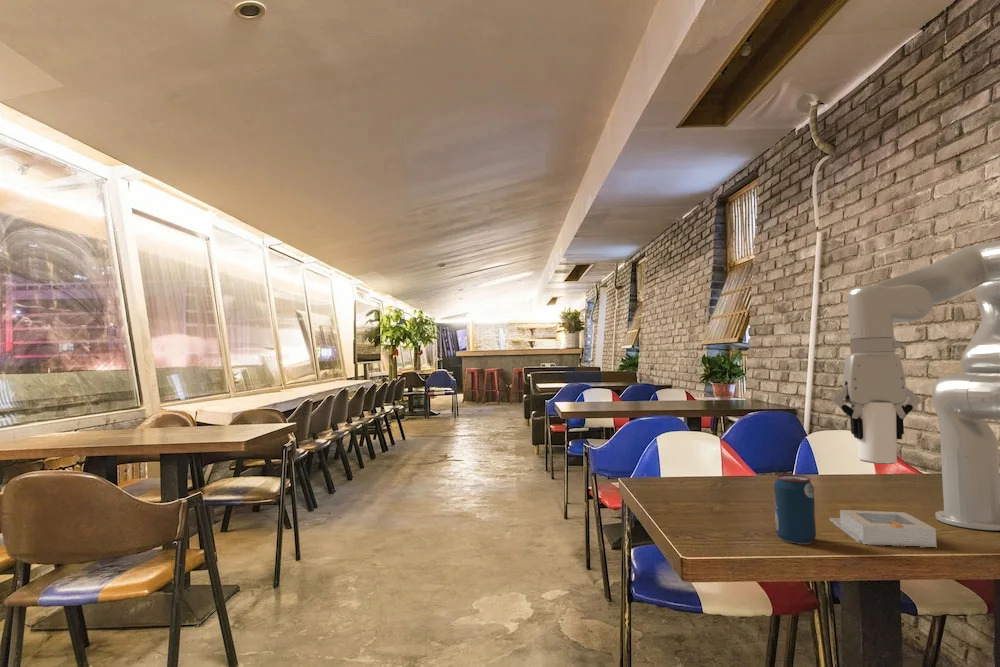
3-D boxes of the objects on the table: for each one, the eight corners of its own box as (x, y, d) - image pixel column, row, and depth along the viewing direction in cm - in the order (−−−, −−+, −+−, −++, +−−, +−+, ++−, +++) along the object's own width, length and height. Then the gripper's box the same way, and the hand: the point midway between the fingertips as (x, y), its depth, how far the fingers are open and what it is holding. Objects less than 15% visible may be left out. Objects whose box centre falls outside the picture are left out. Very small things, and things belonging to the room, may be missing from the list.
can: (902, 465, 110) (902, 402, 111) (864, 463, 112) (864, 401, 112) (888, 459, 116) (887, 400, 117) (852, 457, 118) (852, 399, 118)
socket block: (897, 523, 122) (896, 504, 122) (940, 548, 105) (939, 527, 105) (829, 520, 124) (828, 502, 125) (861, 544, 107) (860, 523, 108)
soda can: (824, 543, 109) (822, 479, 109) (794, 547, 107) (792, 481, 107) (796, 533, 115) (794, 472, 116) (767, 536, 113) (765, 475, 114)
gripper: (912, 346, 117) (918, 436, 116) (818, 349, 121) (823, 435, 120) (930, 346, 109) (936, 441, 108) (830, 348, 113) (835, 440, 113)
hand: (877, 437), depth 114 cm, fingers closed on can, 6 cm apart
